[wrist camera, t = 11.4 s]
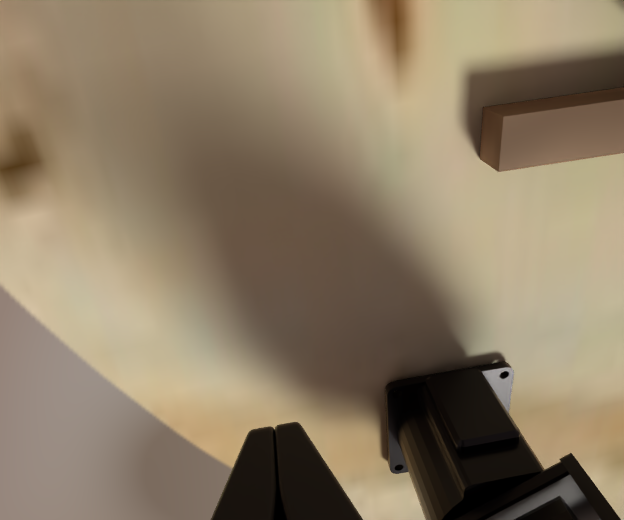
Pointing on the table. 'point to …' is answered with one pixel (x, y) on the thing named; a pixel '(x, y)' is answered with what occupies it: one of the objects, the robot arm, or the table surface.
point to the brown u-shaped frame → (553, 130)
